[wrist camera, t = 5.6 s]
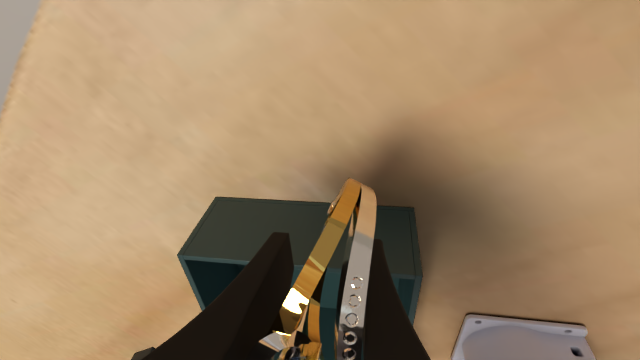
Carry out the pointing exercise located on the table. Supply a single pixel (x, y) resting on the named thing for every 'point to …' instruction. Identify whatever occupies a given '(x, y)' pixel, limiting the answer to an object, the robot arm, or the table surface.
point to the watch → (142, 354)
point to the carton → (294, 250)
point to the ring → (304, 298)
